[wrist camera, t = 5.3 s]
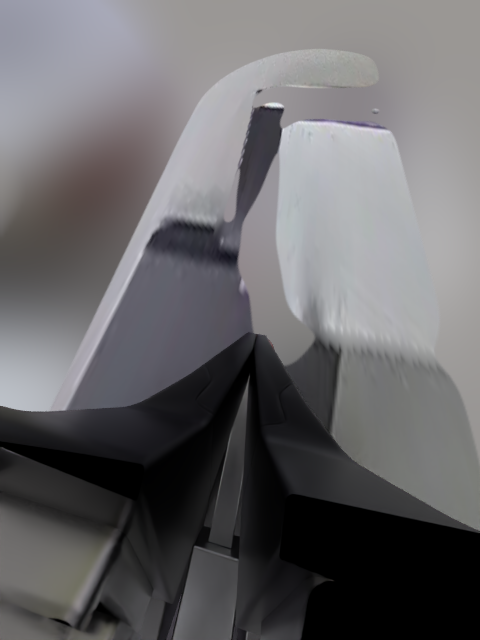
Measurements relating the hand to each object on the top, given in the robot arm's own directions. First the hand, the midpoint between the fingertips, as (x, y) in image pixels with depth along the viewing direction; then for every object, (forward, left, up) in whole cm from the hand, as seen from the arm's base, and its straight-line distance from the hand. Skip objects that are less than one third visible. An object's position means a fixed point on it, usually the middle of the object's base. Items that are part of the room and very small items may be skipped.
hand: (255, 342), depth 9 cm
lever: (-5, +3, -5) cm, 8 cm away
